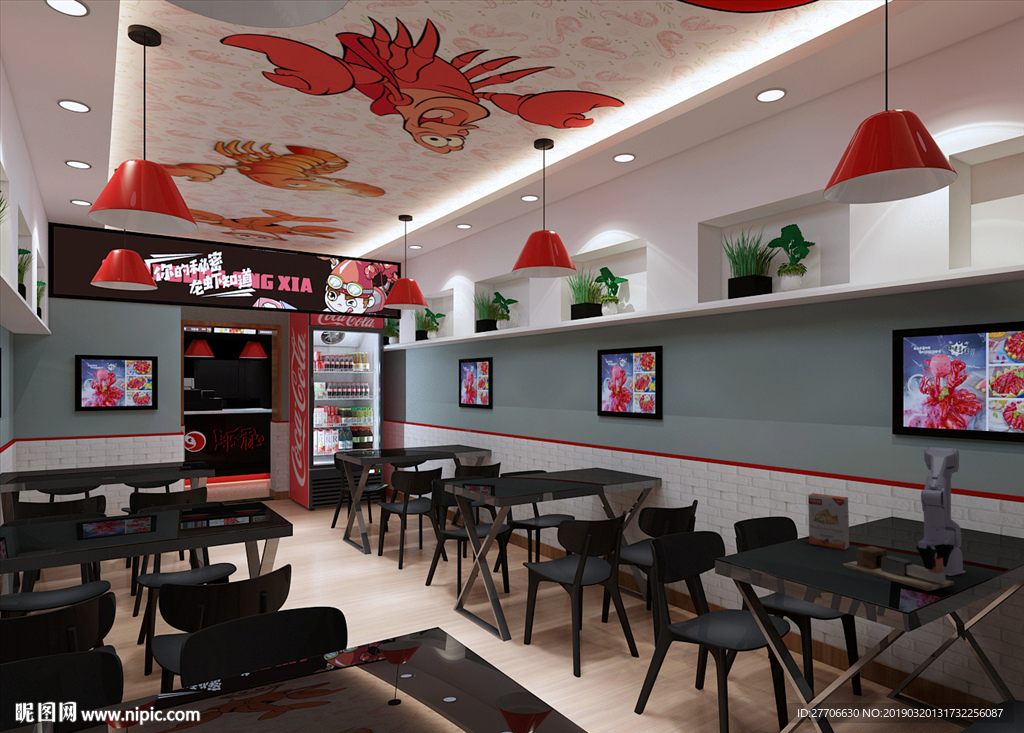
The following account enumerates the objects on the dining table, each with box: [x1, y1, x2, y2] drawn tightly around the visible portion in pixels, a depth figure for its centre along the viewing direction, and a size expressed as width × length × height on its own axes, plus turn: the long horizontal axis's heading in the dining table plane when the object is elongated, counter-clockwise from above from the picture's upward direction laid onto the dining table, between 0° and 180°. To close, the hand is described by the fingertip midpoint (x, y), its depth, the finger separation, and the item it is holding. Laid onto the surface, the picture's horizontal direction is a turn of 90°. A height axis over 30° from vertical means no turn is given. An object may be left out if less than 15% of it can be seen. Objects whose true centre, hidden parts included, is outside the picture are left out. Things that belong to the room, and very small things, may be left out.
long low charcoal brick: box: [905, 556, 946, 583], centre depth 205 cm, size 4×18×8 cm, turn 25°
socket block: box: [856, 545, 888, 569], centre depth 219 cm, size 8×6×6 cm
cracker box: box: [807, 492, 850, 551], centre depth 250 cm, size 14×6×21 cm, turn 45°
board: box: [842, 560, 955, 592], centre depth 211 cm, size 14×30×1 cm, turn 25°
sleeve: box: [881, 554, 914, 577], centre depth 211 cm, size 5×8×5 cm, turn 25°
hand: (935, 567), depth 199 cm, fingers open, 7 cm apart
